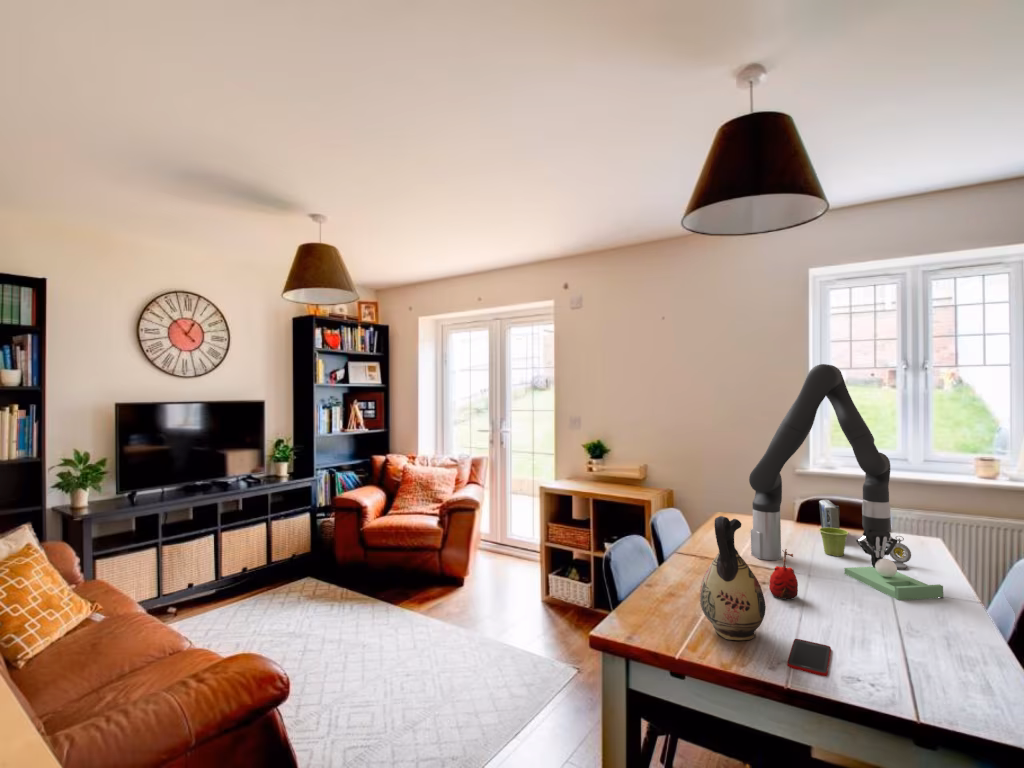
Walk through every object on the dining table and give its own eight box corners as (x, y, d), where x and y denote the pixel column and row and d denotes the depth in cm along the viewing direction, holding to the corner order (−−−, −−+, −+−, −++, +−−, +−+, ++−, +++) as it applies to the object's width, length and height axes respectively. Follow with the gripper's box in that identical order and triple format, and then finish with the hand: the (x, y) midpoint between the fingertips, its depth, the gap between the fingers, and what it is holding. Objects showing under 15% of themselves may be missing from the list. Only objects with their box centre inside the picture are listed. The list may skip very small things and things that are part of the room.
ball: (874, 577, 165) (886, 577, 160) (868, 559, 167) (881, 558, 162) (890, 577, 166) (903, 576, 160) (885, 558, 168) (898, 557, 163)
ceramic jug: (711, 614, 143) (709, 505, 143) (772, 630, 133) (770, 513, 134) (688, 637, 130) (686, 517, 130) (754, 656, 120) (751, 527, 121)
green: (898, 600, 151) (898, 587, 151) (844, 573, 173) (844, 563, 173) (943, 597, 152) (943, 585, 152) (884, 572, 174) (883, 561, 174)
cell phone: (831, 650, 123) (831, 646, 123) (827, 678, 111) (827, 674, 111) (794, 641, 128) (794, 637, 128) (786, 668, 116) (786, 664, 116)
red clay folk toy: (795, 593, 157) (793, 543, 157) (801, 602, 150) (800, 550, 150) (767, 591, 159) (766, 542, 159) (772, 600, 152) (771, 548, 152)
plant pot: (855, 557, 189) (854, 534, 189) (828, 558, 189) (828, 534, 189) (839, 550, 198) (838, 527, 198) (814, 550, 198) (813, 527, 198)
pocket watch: (884, 568, 178) (884, 538, 178) (880, 561, 185) (880, 532, 185) (914, 571, 174) (913, 541, 174) (909, 564, 181) (908, 535, 181)
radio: (819, 528, 229) (818, 494, 229) (842, 531, 224) (842, 496, 225) (818, 542, 209) (817, 505, 209) (843, 545, 205) (842, 507, 205)
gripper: (865, 518, 164) (867, 573, 164) (904, 516, 165) (906, 571, 165) (848, 512, 171) (849, 565, 171) (885, 511, 172) (887, 563, 172)
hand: (877, 568), depth 168 cm, fingers closed
